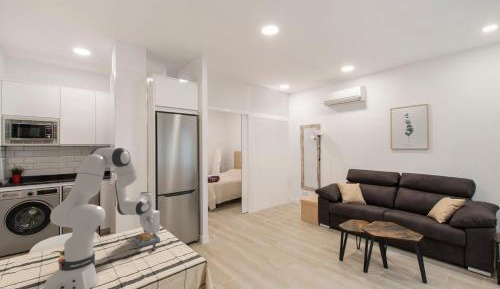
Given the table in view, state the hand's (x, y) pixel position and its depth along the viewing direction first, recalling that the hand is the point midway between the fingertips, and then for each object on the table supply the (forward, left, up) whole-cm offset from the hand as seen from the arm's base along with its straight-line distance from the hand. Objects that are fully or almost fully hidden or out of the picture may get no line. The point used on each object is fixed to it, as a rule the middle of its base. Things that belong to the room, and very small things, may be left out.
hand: (147, 235), depth 157 cm
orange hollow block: (0, 0, -2) cm, 2 cm away
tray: (0, 0, -4) cm, 4 cm away
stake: (0, -16, -4) cm, 17 cm away
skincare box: (+8, +15, -4) cm, 18 cm away
